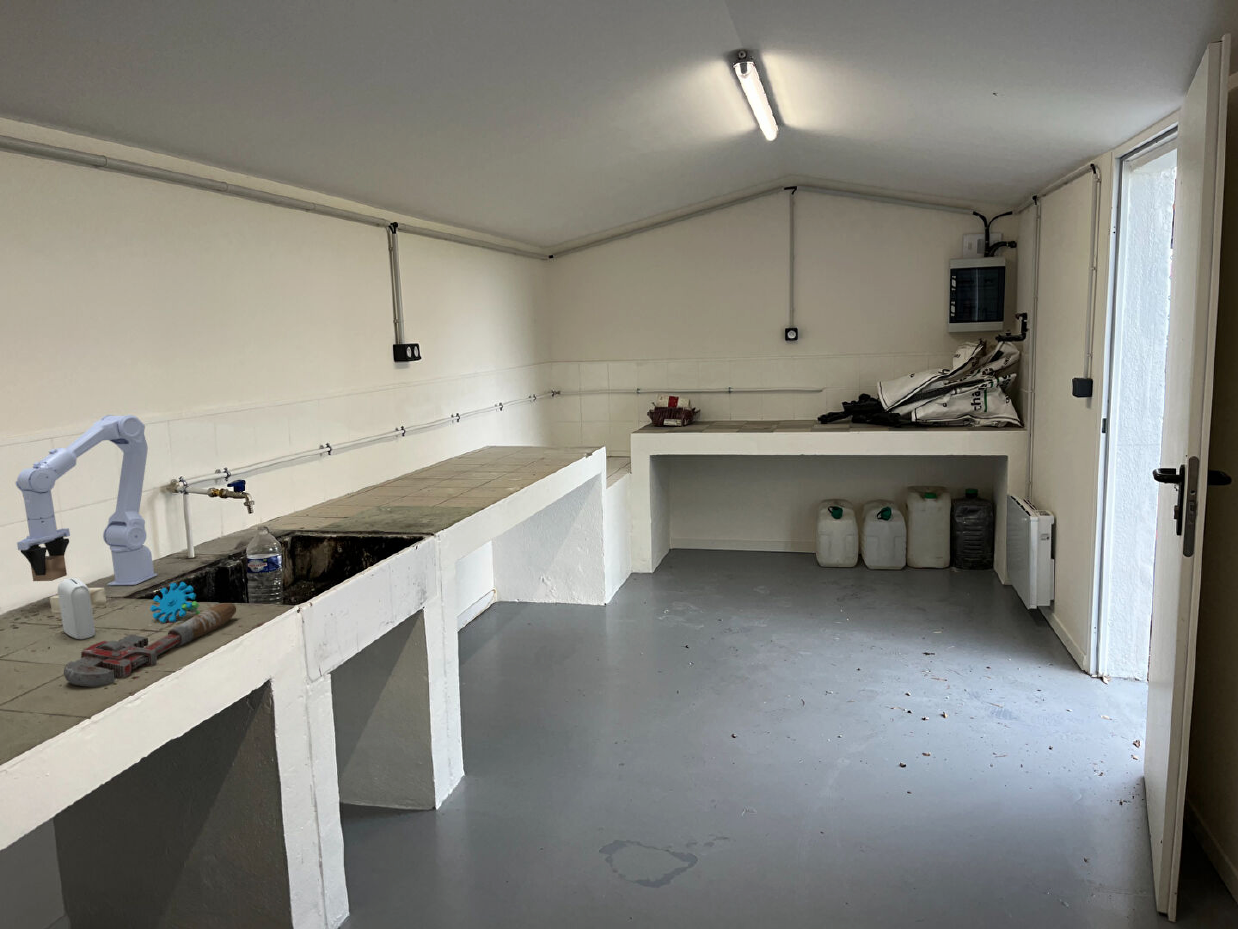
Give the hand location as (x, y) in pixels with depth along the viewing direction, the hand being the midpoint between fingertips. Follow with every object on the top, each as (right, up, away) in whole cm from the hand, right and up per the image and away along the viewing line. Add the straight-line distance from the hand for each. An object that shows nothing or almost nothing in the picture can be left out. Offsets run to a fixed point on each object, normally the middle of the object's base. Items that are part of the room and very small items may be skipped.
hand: (49, 571), depth 220 cm
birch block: (+10, -8, -3) cm, 13 cm away
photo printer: (+22, -11, -25) cm, 35 cm away
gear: (+40, -9, -17) cm, 44 cm away
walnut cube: (0, -2, 0) cm, 2 cm away
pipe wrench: (+46, -12, -38) cm, 60 cm away
